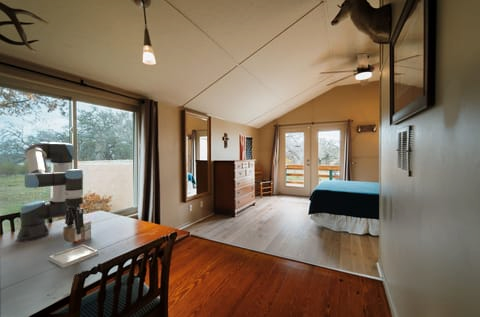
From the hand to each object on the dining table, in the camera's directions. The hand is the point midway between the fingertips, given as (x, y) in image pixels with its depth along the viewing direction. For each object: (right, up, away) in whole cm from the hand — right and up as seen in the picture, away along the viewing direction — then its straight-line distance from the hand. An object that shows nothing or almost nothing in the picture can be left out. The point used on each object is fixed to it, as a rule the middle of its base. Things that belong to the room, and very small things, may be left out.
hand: (74, 238), depth 110 cm
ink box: (-13, -10, +21) cm, 27 cm away
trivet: (0, -10, 0) cm, 10 cm away
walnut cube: (0, 0, 0) cm, 0 cm away
